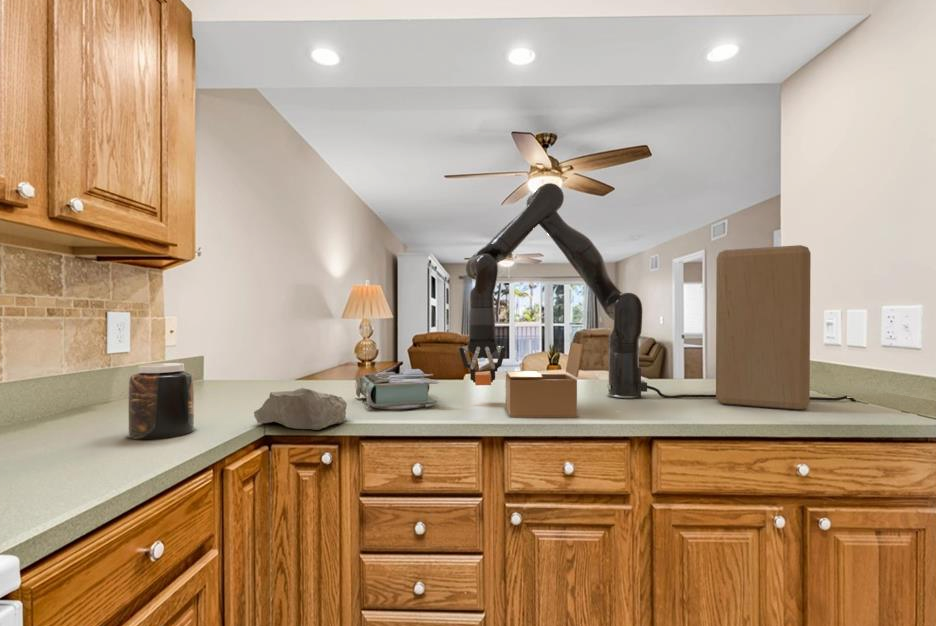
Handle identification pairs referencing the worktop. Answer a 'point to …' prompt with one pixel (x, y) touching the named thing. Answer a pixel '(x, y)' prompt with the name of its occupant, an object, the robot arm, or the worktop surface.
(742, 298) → the wooden block
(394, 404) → the ornate book
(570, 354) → the cardboard box flap
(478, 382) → the block
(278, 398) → the stone
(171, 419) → the jar
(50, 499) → the worktop surface
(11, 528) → the worktop surface
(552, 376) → the open shipping carton
